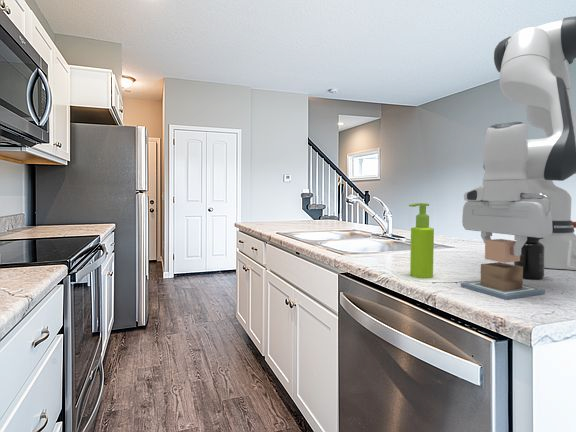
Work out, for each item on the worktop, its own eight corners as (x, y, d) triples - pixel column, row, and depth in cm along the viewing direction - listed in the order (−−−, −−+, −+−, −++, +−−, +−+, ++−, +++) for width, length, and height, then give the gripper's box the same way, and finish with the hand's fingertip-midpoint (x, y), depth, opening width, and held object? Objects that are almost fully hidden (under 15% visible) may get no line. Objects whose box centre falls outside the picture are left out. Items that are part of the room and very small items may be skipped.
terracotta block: (500, 257, 87) (500, 239, 87) (519, 261, 83) (520, 241, 83) (484, 259, 86) (485, 240, 85) (504, 262, 81) (505, 242, 81)
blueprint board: (496, 282, 92) (496, 278, 92) (544, 293, 81) (544, 289, 81) (460, 286, 88) (460, 282, 88) (506, 299, 77) (506, 295, 77)
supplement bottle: (531, 273, 102) (533, 231, 101) (550, 279, 95) (551, 233, 94) (507, 274, 101) (509, 231, 101) (524, 280, 94) (525, 234, 94)
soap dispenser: (402, 274, 101) (403, 203, 100) (422, 272, 104) (423, 202, 103) (417, 279, 96) (418, 203, 95) (437, 277, 98) (439, 203, 97)
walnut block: (498, 282, 89) (499, 262, 88) (522, 288, 83) (523, 266, 83) (480, 284, 86) (480, 264, 86) (503, 291, 81) (504, 268, 80)
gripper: (561, 193, 75) (558, 259, 76) (477, 193, 94) (475, 246, 95) (540, 193, 73) (537, 261, 73) (458, 193, 92) (457, 248, 92)
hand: (502, 253), depth 84 cm, fingers closed on terracotta block, 5 cm apart
